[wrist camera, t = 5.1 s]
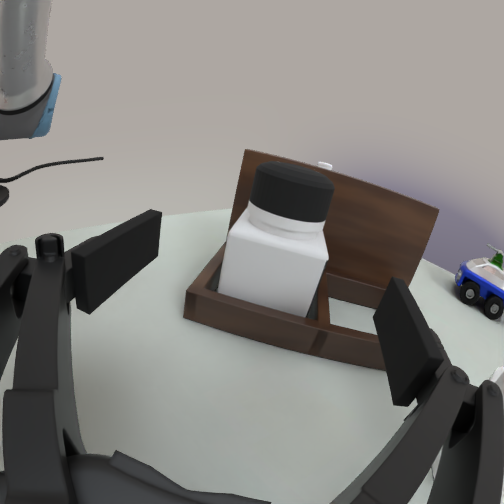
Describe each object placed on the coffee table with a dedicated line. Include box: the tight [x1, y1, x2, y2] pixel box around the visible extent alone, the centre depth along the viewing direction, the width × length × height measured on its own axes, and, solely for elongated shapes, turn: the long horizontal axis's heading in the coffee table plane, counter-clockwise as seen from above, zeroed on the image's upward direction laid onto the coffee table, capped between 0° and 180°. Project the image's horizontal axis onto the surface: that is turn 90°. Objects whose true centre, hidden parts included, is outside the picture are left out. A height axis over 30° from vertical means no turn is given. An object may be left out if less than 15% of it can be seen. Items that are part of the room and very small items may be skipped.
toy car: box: [455, 244, 504, 320], centre depth 34 cm, size 9×12×10 cm
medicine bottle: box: [217, 161, 335, 318], centre depth 23 cm, size 7×7×12 cm
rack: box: [183, 149, 439, 370], centre depth 23 cm, size 12×20×12 cm, turn 79°
